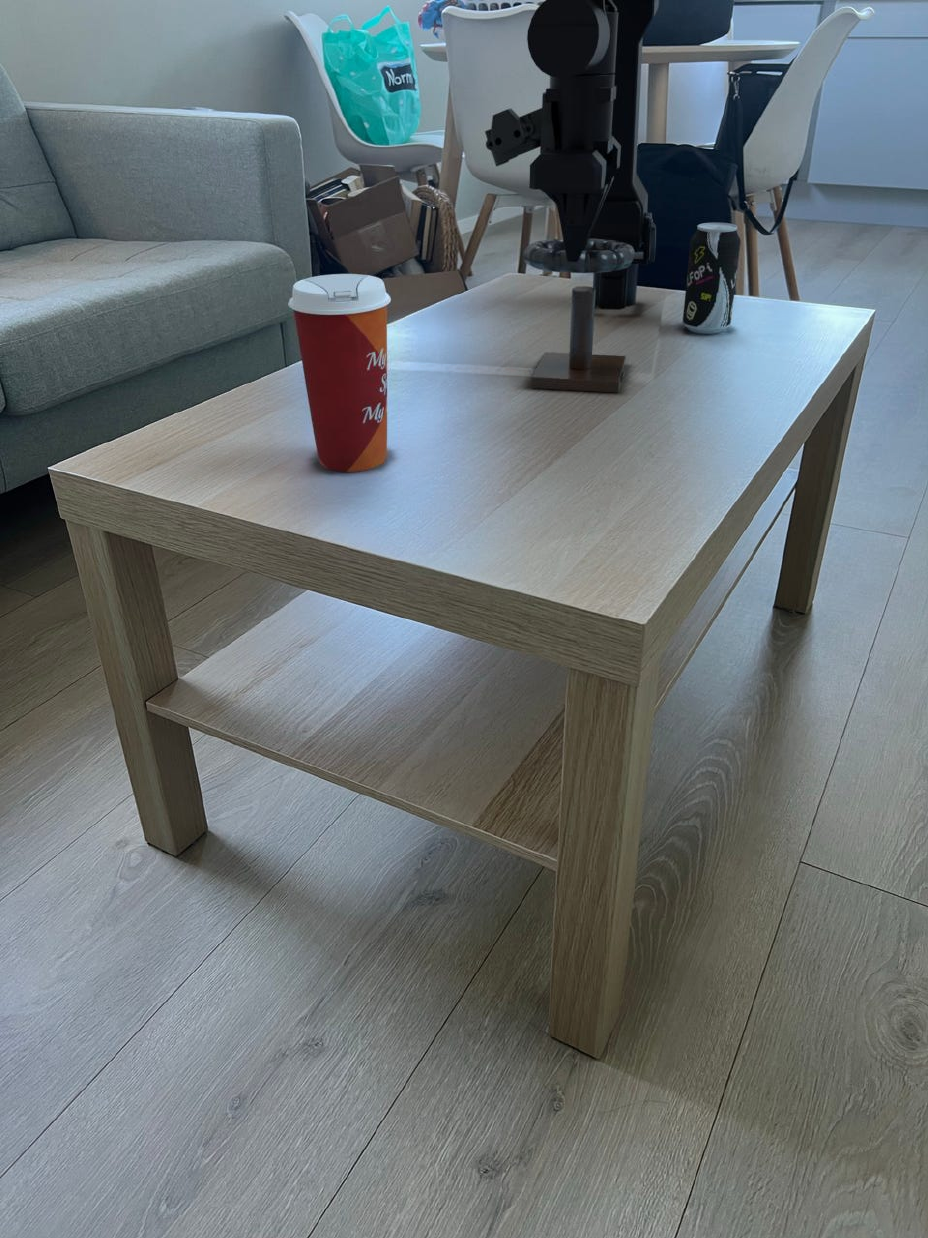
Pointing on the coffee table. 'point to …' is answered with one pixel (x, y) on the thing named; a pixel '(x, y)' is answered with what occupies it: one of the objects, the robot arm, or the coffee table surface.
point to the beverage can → (711, 278)
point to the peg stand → (580, 355)
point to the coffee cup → (345, 366)
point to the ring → (592, 260)
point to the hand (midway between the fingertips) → (574, 259)
